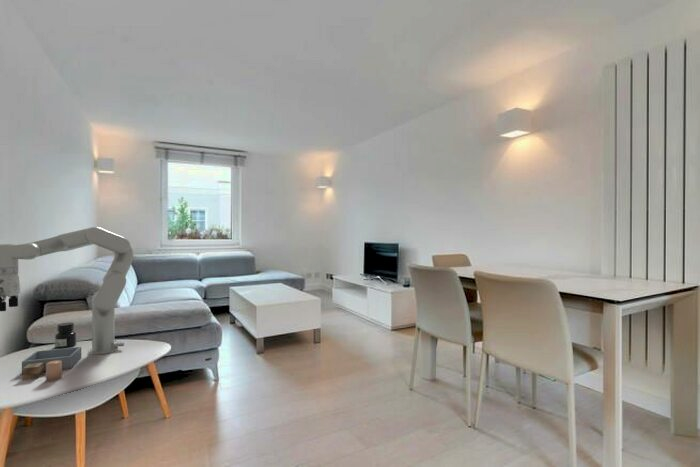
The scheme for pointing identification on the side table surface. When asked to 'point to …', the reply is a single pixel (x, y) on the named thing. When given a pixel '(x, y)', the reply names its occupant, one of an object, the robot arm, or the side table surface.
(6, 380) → the side table surface
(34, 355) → the tote
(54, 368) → the peach domed capsule
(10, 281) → the robot arm
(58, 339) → the ink bottle
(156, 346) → the side table surface
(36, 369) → the walnut cube
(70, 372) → the side table surface
